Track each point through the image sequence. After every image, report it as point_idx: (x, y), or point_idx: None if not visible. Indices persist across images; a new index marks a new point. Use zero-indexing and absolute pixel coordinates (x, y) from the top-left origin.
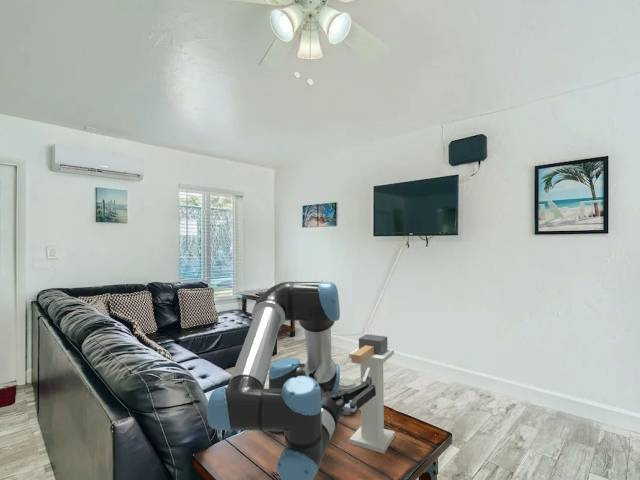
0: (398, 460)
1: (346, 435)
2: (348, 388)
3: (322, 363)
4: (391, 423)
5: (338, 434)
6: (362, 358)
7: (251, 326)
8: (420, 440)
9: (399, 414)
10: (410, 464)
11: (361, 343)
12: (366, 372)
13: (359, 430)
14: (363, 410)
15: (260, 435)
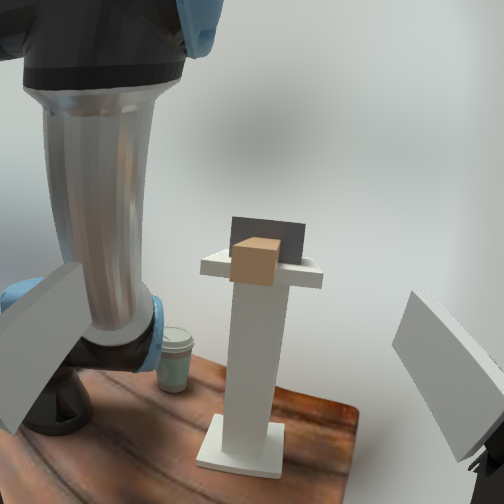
0: (315, 486)
1: (184, 443)
2: (179, 347)
3: (68, 266)
4: None
5: (166, 442)
6: (275, 266)
7: None
8: (329, 427)
9: None
10: (341, 487)
11: (239, 232)
12: (447, 322)
13: (212, 433)
14: (230, 407)
15: None
